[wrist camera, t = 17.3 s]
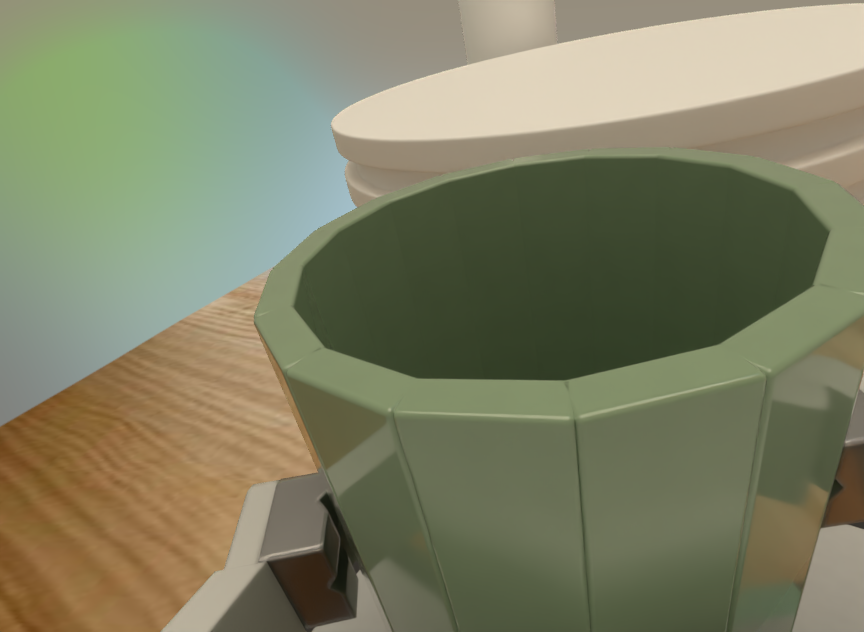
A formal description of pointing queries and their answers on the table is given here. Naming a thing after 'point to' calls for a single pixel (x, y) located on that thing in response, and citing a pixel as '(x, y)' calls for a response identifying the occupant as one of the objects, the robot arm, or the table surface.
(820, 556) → the scale
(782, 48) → the plate stack
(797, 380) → the tumbler
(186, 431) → the table surface
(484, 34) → the bottle
